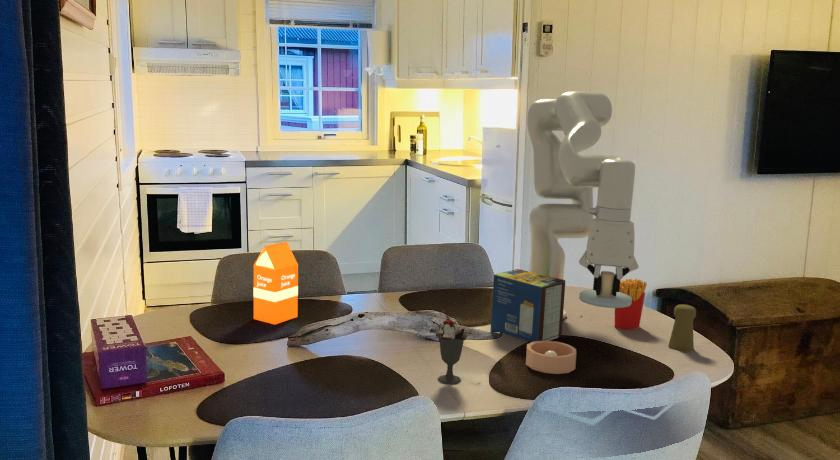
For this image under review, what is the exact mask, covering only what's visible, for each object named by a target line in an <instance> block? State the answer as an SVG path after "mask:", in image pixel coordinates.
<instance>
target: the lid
mask: <svg viewBox="0 0 840 460" xmlns="http://www.w3.org/2000/svg"><path fill="white" fill-rule="evenodd" d="M615 274H616V272H613V271H608V270H603V271H600V277H601V288H600V295H596V290H593V288H591V289H585V290H582V291H580V292H579V297H578V299H579V300H580V301H581V302H582V303H585V304H587V305H591V306H594V307H600V308H605V309H606V308H609V309H615V308H623V307H628V306H630V305H631V303H632V298H631V297H630V296H628V295H626V294H624V293H620V292H616V296H613V295H612V294H613V283H614V275H615Z"/></svg>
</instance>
